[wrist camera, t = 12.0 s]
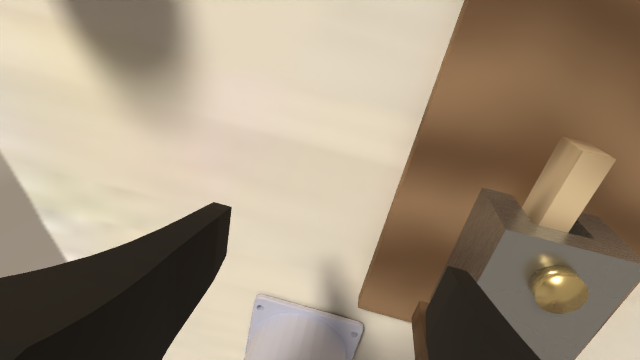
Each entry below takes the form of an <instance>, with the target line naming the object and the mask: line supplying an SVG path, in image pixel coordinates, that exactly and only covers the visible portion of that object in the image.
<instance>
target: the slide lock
mask: <svg viewBox="0 0 640 360" xmlns="http://www.w3.org/2000/svg"><path fill="white" fill-rule="evenodd" d="M447 266H451V267H454V268H458V269H462V270H465V271H467V272H468V273H469V274H470V275H471V276H472V277H473V279H474V280H475V281H476V282H477V284H478V285H479V286H480V287H481V289H482V290H483V291H484V292H485V294H486V295H487V296H488V297H489V299H490V300H491V301H492V303H493V304H494V305H495V306H496V308H497V309H498V310H499V311H500V313H501V314H502V315H503V316H504V318H505V319H506V320H507V321H508V322H509V324H510V325H511V326H512V327H513V328H514V330H515V331H516V332H517V333H518V334H519V336H520V337H521V338H522V339H523V340H524V341H525V342H526V344H527V345H528V346H529V347H530V348H531V349H532V350H533V351H534V353H535V354H536V355H537V356H538V357H539V358H540V359H541V360H574V359H575V358H576V357H577V355H578V354H579V353H580V352H581V351H582V349H583V348H584V347H585V346H586V344H587V343H588V342H589V341H590V340H591V338H592V337H593V336H594V335H595V334H596V332H597V331H598V330H599V329H600V327H601V326H602V325H603V324H604V323H605V321H606V320H607V319H608V318H609V316H610V315H611V314H612V313H613V312H614V310H615V309H616V308H617V307H618V305H619V304H620V303H621V302H622V301H623V299H624V298H625V297H626V296H627V294H628V293H629V292H630V291H631V290H632V288H633V287H634V286H635V285H636V284H637V282H638V281H639V280H640V256H639V255H638V254H637V253H636V252H635V251H634V250H633V249H631V248H630V247H629V246H628V245H627V244H626V243H625V242H624V241H623V240H622V239H621V238H620V237H619V236H618V235H617V234H616V233H615V232H614V231H613V230H612V229H610V228H609V227H608V226H607V225H606V224H605V223H604V222H603V221H602V220H601V219H600V218H599V217H598V216H594V215H590V214H586V213H581V214H580V216H579V217H578V219H577V220H576V222H575V223H574V225H573V226H572V228H571V229H570V231H569V232H568V233H567V232H563V231H559V230H555V229H551V228H547V227H543V226H539V225H535V224H533V223H532V222H531V220H530V219H529V217H528V216H527V215H526V213H525V212H524V210H523V209H522V208H521V206H520V205H519V203H518V202H517V201H516V199H515V198H514V196H513V195H511V194H507V193H503V192H499V191H495V190H491V189H487V188H483V187H482V189H481V191H480V193H479V195H478V197H477V199H476V201H475V204H474V206H473V208H472V210H471V212H470V214H469V216H468V218H467V221H466V223H465V225H464V227H463V229H462V231H461V233H460V235H459V237H458V240H457V242H456V244H455V246H454V248H453V250H452V252H451V254H450V257H449V259H448V261H447V263H446V265H445V267H444V269H443V271H442V274H441V276H440V278H439V280H438V282H437V284H436V286H435V288H434V290H433V293H432V295H431V297H430V298H431V299H432V297H433V295H434V293H435V291H436V289H437V287H438V285H439V283H440V281H441V279H442V276H443V274H444V272H445V270H446V268H447Z"/></svg>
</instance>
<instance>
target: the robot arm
mask: <svg viewBox="0 0 640 360" xmlns="http://www.w3.org/2000/svg"><path fill="white" fill-rule="evenodd" d="M231 208H232V207H230V206H226V205H222V204H219V203H215V202H213V203H211V204H209V205H207V206H205V207H203V208H201V209H199V210H197V211H195V212H193V213H192V214H190V215H188V216H186V217H184V218H182V219H180V220H178V221H176V222H173V223H171V224H169V225H167V226H165V227H163V228H161V229H159V230H156V231H154V232H152V233H150V234H147V235H145V236H143V237H140V238H138V239H136V240H134V241H131V242H129V243H126V244H123V245H121V246H118V247H115V248H112V249H109V250H107V251H104V252H101V253H98V254H95V255H92V256H88V257H85V258H81V259H78V260H74V261H70V262H67V263H63V264H60V265H56V266H53V267H48V268H44V269H41V270H36V271H31V272H27V273H23V274H18V275H12V276H7V277H3V278H0V360H162V358H163V356H164V355H165V353H166V351H167V349H168V348H169V346H170V345H171V343H172V341H173V340H174V338H175V337H176V335H177V334H178V332H179V331H180V329H181V328H182V327H183V325H184V324H185V322H186V321H187V319H188V318H189V316H190V315H191V313H192V312H193V310H194V309H195V307H196V306H197V305H198V303H199V302H200V300H201V299H202V297H203V296H204V294H205V293H206V291H207V290H208V288H209V287H210V285H211V284H212V282H213V281H214V279H215V277H216V275H217V273H218V271H219V269H220V267H221V265H222V263H223V261H224V259H225V257H226V253H227V244H228V235H229V226H230V217H231ZM259 305H261V306H263V307H261V306H259ZM353 332H356V333H353ZM362 333H363V324H362V323H361V322H358V321H355V320H352V319H348V318H345V317H341V316H337V315H334V314H330V313H327V312H323V311H320V310H316V309H313V308H309V307H306V306H302V305H299V304H295V303H292V302H288V301H284V300H281V299H277V298H274V297H270V296H267V295H263V294H259V295H257V296H256V298H255V301H254V307H253V312H252V318H251V324H250V330H249V336H248V342H247V347H246V353H245V358H244V360H352V358H353V356H354V353H355V351H356V348H357V345H358V343H359V340H360V338H361V335H362ZM426 344H427V351H428V358H429V360H541V359H540V358H539V357H538V356H537V355H536V354H535V353H534V351H533V350H532V349H531V348H530V347H529V346H528V345H527V344H526V342H525V341H524V340H523V339H522V338H521V337H520V336H519V334H518V333H517V332H516V331H515V330H514V328H513V327H512V326H511V325H510V324H509V322H508V321H507V320H506V319H505V318H504V316H503V315H502V314H501V313H500V311H499V310H498V309H497V308H496V306H495V305H494V304H493V303H492V301H491V300H490V299H489V297H488V296H487V295H486V294H485V292H484V291H483V290H482V289H481V287H480V286H479V285H478V284H477V282H476V281H475V280H474V279H473V277H472V276H471V275H470V274H469V273H468V272H467V271H465V270H462V269H458V268H454V267H451V266H447V268H446V270H445V272H444V274H443V276H442V279H441V281H440V283H439V285H438V287H437V289H436V291H435V293H434V295H433V297H432V299H431V301H430V303H429V305H428V307H427V309H426Z"/></svg>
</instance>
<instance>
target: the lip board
mask: <svg viewBox="0 0 640 360" xmlns="http://www.w3.org/2000/svg"><path fill="white" fill-rule="evenodd" d="M482 187H483V188H487V189H491V190H495V191H499V192H503V193H507V194H511V195H513V196H514V198H515V199H516V201H517V202H518V203H519V205H520V206H521V208H522V209H523V210H524V212H525V213H526V215H527V216H528V217H529V219H530V220H531V222H532V223H533V224H535V225H539V226H543V227H547V228H551V229H555V230H559V231H563V232H567V233H568V232H569V231H570V229H571V228H572V226H573V225H574V223H575V222H576V220H577V219H578V217H579V216H580V214H581V213H586V214H590V215H594V216H598V217H599V218H600V219H601V220H602V221H603V222H604V223H605V224H606V225H607V226H608V227H609V228H610V229H612V230H613V231H614V232H615V233H616V234H617V235H618V236H619V237H620V238H621V239H622V240H623V241H624V242H625V243H626V244H627V245H628V246H629V247H630V248H631V249H633V250H634V251H635V252H636V253H637V254H638V255H639V256H640V0H465V1H464V3H463V6H462V9H461V12H460V15H459V17H458V20H457V23H456V26H455V29H454V31H453V34H452V37H451V40H450V43H449V45H448V48H447V51H446V54H445V57H444V59H443V62H442V65H441V68H440V71H439V73H438V76H437V79H436V82H435V85H434V87H433V90H432V93H431V96H430V99H429V101H428V104H427V107H426V110H425V113H424V115H423V118H422V121H421V124H420V127H419V129H418V132H417V135H416V138H415V141H414V143H413V146H412V149H411V152H410V155H409V157H408V160H407V163H406V166H405V169H404V171H403V174H402V177H401V180H400V183H399V185H398V188H397V191H396V194H395V197H394V199H393V202H392V205H391V208H390V211H389V213H388V216H387V219H386V222H385V224H384V227H383V230H382V233H381V236H380V238H379V241H378V244H377V247H376V250H375V252H374V255H373V258H372V261H371V264H370V266H369V269H368V272H367V275H366V278H365V280H364V283H363V286H362V289H361V292H360V294H359V299H358V308H361V309H365V310H368V311H372V312H376V313H379V314H383V315H386V316H390V317H393V318H397V319H401V320H404V321H408V322H411V323H412V330H413V340H414V351H415V360H429V358H428V351H427V344H426V309H427V307H428V305H429V303H430V301H431V298H430V297H431V295H432V293H433V290H434V288H435V286H436V284H437V282H438V280H439V278H440V276H441V274H442V271H443V269H444V267H445V265H446V263H447V261H448V259H449V257H450V254H451V252H452V250H453V248H454V246H455V244H456V242H457V240H458V237H459V235H460V233H461V231H462V229H463V227H464V225H465V223H466V221H467V218H468V216H469V214H470V212H471V210H472V208H473V206H474V204H475V201H476V199H477V197H478V195H479V193H480V191H481V189H482ZM639 282H640V280H639V281H638V282H637V284H636V285H635V286H634V287H633V288H632V290H631V291H630V292H629V293H628V294H627V296H626V297H625V298H624V299H623V301H624V300H625V299H626V298H627V297H628V295H629V294H630V293H631V292H632V291H633V289H634V288H635V287H636V286H637V285H638V284H639ZM623 301H622V302H621V303H620V304H619V305H618V307H619V306H620V305H621V304H622V303H623ZM618 307H617V308H616V309H615V310H614V312H615V311H616V310H617V309H618ZM614 312H613V313H614ZM613 313H612V314H611V315H610V316H609V318H610V317H611V316H612V315H613ZM609 318H608V319H609ZM608 319H607V320H608ZM607 320H606V321H605V323H606V322H607ZM605 323H604V324H605ZM604 324H603V325H604ZM603 325H602V326H603ZM602 326H601V327H600V329H601V328H602ZM600 329H599V330H600ZM599 330H598V331H599ZM598 331H597V332H598ZM597 332H596V334H597ZM596 334H595V335H596ZM595 335H594V336H595ZM594 336H593V337H594ZM593 337H592V338H593ZM592 338H591V340H592ZM591 340H590V341H591ZM590 341H589V342H590ZM589 342H588V343H589ZM588 343H587V344H588ZM587 344H586V346H587ZM586 346H585V347H586ZM585 347H584V348H585ZM584 348H583V349H584ZM583 349H582V350H583ZM580 353H581V352H580ZM580 353H579V354H580ZM579 354H578V355H579ZM578 355H577V356H578ZM575 359H576V358H575ZM575 359H574V360H575Z"/></svg>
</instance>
